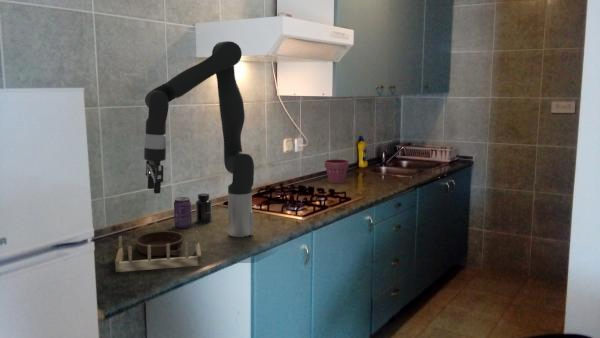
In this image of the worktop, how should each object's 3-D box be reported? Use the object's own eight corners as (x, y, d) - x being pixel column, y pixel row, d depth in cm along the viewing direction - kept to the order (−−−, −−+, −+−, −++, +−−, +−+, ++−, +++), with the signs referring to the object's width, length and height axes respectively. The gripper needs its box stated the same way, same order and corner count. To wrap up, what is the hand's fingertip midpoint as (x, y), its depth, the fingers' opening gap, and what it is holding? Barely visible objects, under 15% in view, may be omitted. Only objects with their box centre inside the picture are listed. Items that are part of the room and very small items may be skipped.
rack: (199, 250, 192) (198, 229, 190) (201, 265, 177) (200, 242, 176) (119, 256, 185) (118, 234, 184) (115, 272, 171) (114, 248, 170)
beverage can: (182, 223, 227) (181, 195, 225) (195, 225, 223) (194, 198, 221) (171, 227, 221) (169, 199, 219) (183, 229, 217) (182, 201, 215)
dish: (161, 239, 206) (160, 226, 205) (198, 251, 192) (198, 237, 192) (121, 250, 192) (120, 237, 192) (159, 264, 179) (158, 250, 178)
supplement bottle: (209, 223, 226) (208, 196, 224) (193, 223, 227) (192, 195, 225) (214, 219, 233) (213, 193, 231) (199, 218, 234) (198, 192, 232)
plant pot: (326, 179, 323) (326, 158, 320) (349, 180, 320) (349, 159, 318) (322, 184, 309) (323, 162, 307) (346, 185, 306) (347, 163, 304)
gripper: (171, 149, 186) (169, 194, 188) (160, 144, 198) (158, 187, 200) (150, 149, 182) (148, 195, 184) (139, 144, 194) (138, 187, 196)
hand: (153, 191), depth 192 cm, fingers open, 8 cm apart
